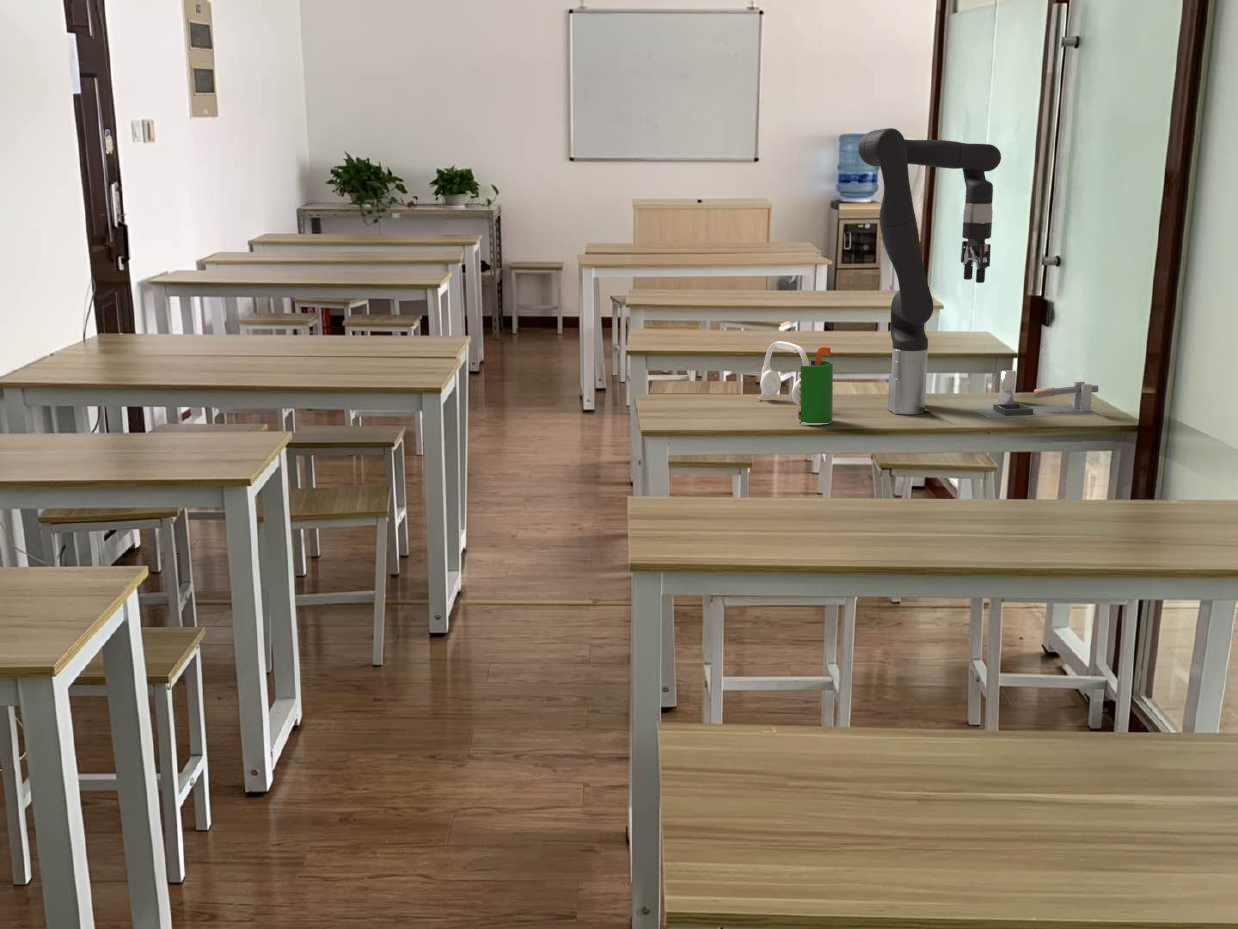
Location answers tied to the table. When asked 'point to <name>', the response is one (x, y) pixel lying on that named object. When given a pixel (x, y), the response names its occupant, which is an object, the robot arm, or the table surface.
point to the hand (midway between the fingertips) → (973, 281)
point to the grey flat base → (1044, 407)
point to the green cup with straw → (816, 389)
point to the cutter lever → (1060, 391)
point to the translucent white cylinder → (1007, 386)
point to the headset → (771, 378)
